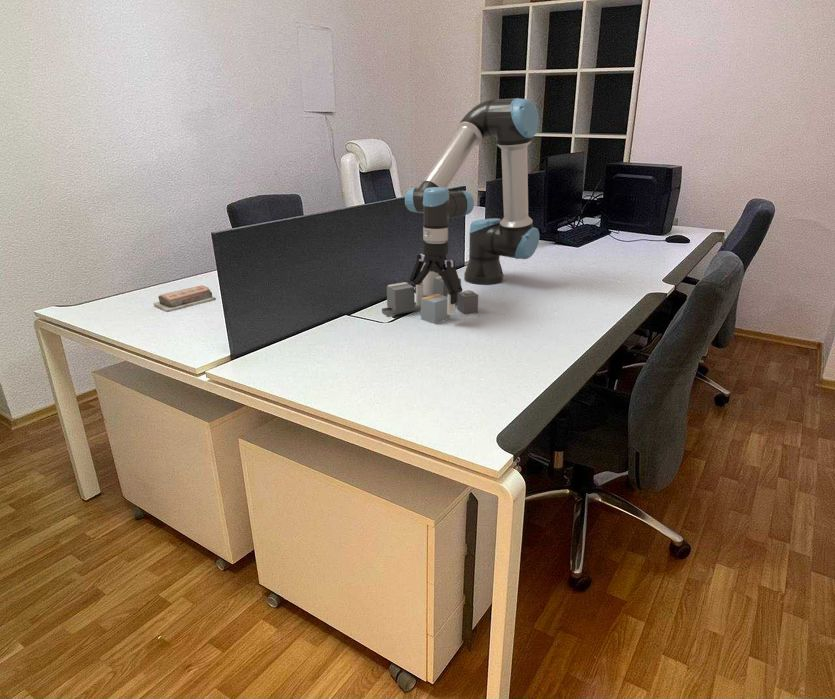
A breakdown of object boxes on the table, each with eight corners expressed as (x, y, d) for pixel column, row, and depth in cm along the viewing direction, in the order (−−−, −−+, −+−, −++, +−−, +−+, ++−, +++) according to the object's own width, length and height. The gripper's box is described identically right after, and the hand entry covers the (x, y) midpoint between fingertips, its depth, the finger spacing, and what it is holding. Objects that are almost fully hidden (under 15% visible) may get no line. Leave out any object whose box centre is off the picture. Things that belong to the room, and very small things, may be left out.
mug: (448, 298, 198) (448, 267, 193) (423, 299, 196) (423, 268, 192) (440, 288, 209) (440, 259, 204) (417, 290, 207) (416, 260, 203)
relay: (471, 308, 187) (471, 288, 185) (477, 312, 183) (478, 292, 180) (457, 309, 186) (458, 290, 183) (463, 314, 181) (464, 294, 179)
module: (436, 314, 182) (436, 293, 179) (449, 318, 178) (450, 296, 175) (421, 319, 177) (420, 297, 175) (434, 324, 173) (434, 302, 171)
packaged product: (200, 282, 203) (214, 287, 197) (202, 295, 205) (216, 301, 199) (150, 294, 191) (164, 299, 185) (153, 307, 193) (167, 313, 187)
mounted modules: (451, 294, 196) (451, 274, 193) (460, 298, 191) (460, 278, 188) (387, 306, 185) (386, 284, 182) (395, 311, 180) (395, 289, 177)
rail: (458, 298, 197) (458, 294, 196) (464, 301, 194) (465, 297, 193) (381, 313, 183) (381, 308, 183) (387, 316, 180) (387, 311, 180)
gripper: (398, 237, 174) (399, 302, 182) (458, 249, 157) (456, 320, 165) (415, 234, 179) (415, 298, 187) (475, 245, 162) (473, 314, 170)
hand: (434, 308), depth 176 cm, fingers open, 13 cm apart
